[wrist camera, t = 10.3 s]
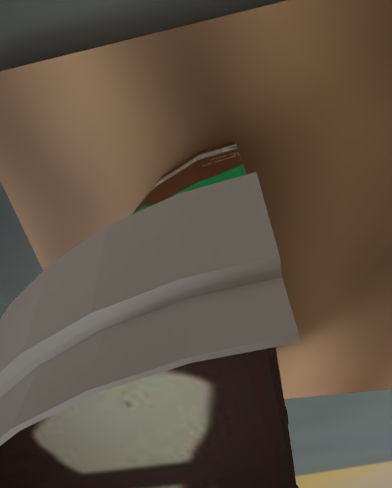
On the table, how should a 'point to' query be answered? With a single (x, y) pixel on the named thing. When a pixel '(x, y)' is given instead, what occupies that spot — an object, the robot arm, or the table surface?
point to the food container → (155, 347)
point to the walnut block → (251, 152)
